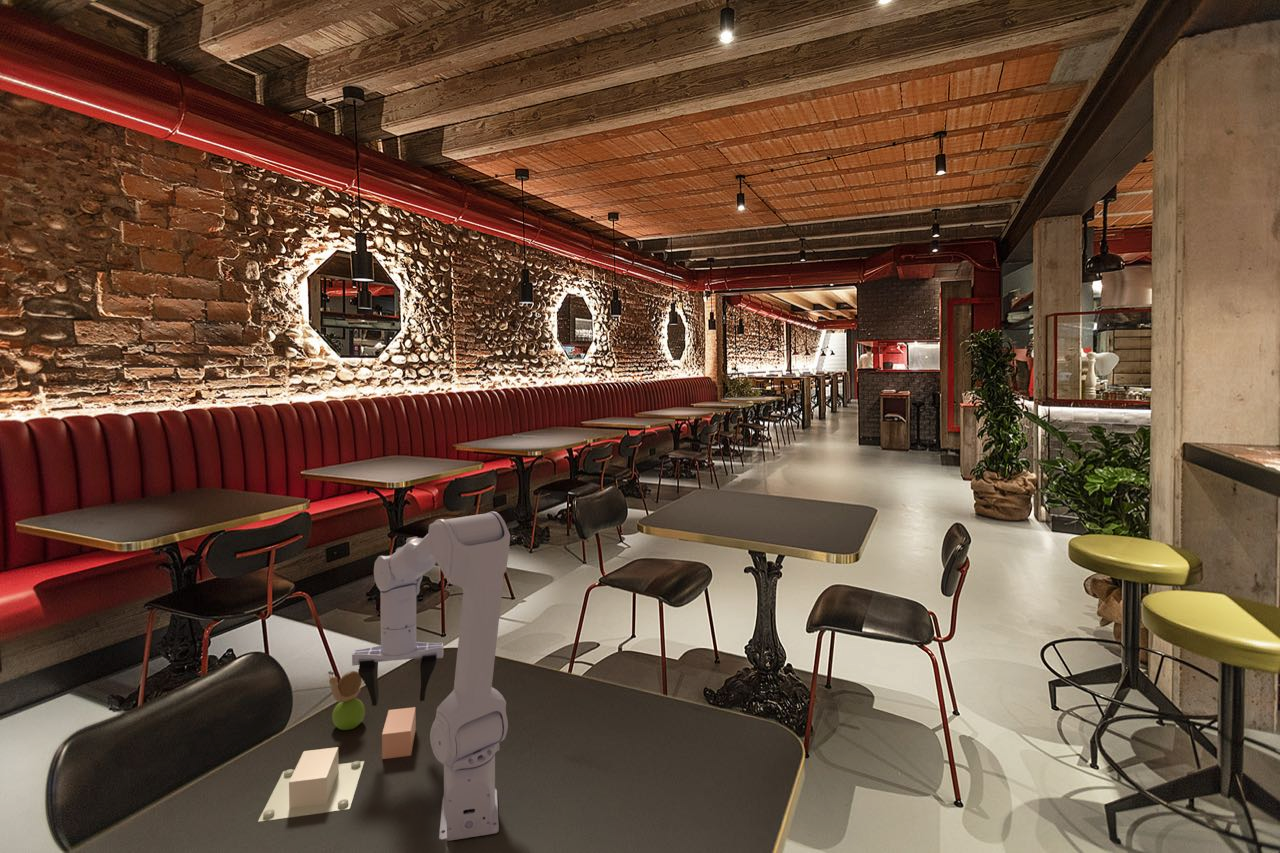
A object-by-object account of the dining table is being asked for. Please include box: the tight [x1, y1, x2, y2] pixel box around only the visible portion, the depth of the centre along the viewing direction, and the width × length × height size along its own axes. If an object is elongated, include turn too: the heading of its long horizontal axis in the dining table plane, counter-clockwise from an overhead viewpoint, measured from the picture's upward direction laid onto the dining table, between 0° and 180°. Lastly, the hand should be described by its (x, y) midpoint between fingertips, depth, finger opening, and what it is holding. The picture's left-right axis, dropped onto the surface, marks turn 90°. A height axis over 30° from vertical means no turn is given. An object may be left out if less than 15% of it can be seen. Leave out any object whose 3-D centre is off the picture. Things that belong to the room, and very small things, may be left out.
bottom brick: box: [289, 746, 340, 809], centre depth 95 cm, size 8×5×4 cm, turn 14°
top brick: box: [381, 706, 417, 760], centre depth 108 cm, size 8×4×5 cm, turn 14°
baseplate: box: [257, 760, 365, 823], centre depth 95 cm, size 12×12×1 cm
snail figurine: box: [328, 670, 366, 731], centre depth 113 cm, size 5×6×12 cm
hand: (399, 700), depth 107 cm, fingers open, 7 cm apart
